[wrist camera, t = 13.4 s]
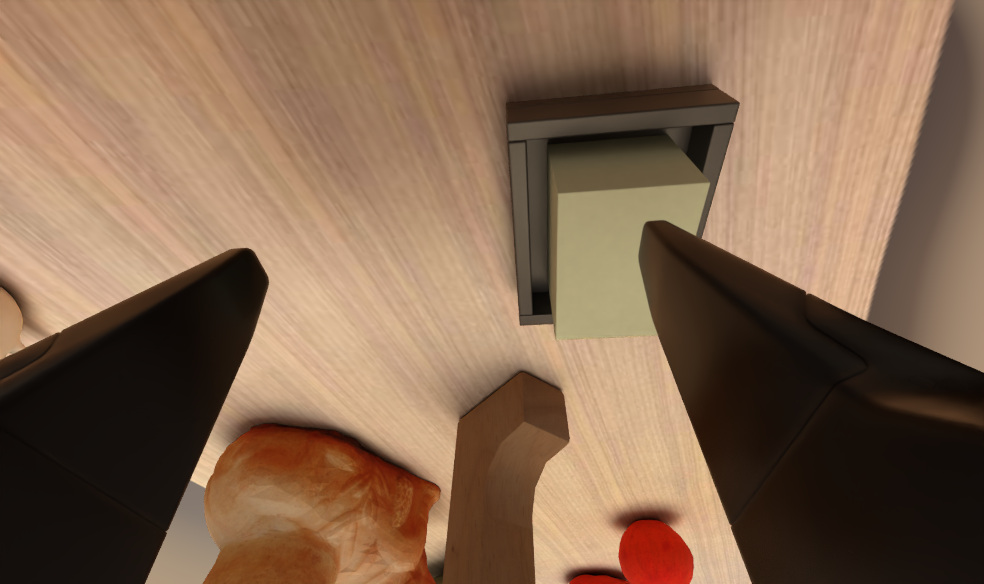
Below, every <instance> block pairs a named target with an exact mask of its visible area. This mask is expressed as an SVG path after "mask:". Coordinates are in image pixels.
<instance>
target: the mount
mask: <svg viewBox="0 0 984 584" xmlns="http://www.w3.org/2000/svg"><path fill="white" fill-rule="evenodd" d="M739 104H740V103H739V102H738V101H737V100H735V99H734V98H732V97H730V96H729V95H727V94H726V93H724V92H723V91H721V90H719V88H717V87H716V86H714V85H713V84H709V85H698V86H687V87H676V88H665V89H654V90H644V91H633V92H622V93H611V94H600V95H589V96H578V97H567V98H556V99H545V100H534V101H523V102H513V103H506V128H507V140H508V157H509V172H510V187H511V202H512V217H513V231H514V246H515V261H516V276H517V291H518V306H519V321H520V325H542V324H553V317H552V309H551V301H550V294H549V286H548V279H547V145H548V144H560V143H572V142H584V141H596V140H608V139H620V138H633V137H645V136H657V135H669V136H670V138H671V139H672V140H673V141H674V142H675V143H676V144H677V145H678V147H679V148H680V149H681V150H682V151H683V152H684V153H685V154H686V156H687V157H688V158H689V159H690V160H691V161H692V162H693V164H694V165H695V166H696V167H697V168H698V169H699V170H700V171H701V173H702V174H703V175H704V176H705V177H706V178H707V179H708V180H709V182H710V186H709V189H708V193H707V197H706V200H705V204H704V208H703V211H702V215H701V219H700V222H699V226H698V230H697V233H696V236H697V237H699V238H702V235H703V231H704V228H705V224H706V221H707V217H708V214H709V210H710V207H711V203H712V200H713V196H714V193H715V189H716V186H717V182H718V179H719V175H720V172H721V168H722V165H723V161H724V158H725V154H726V151H727V147H728V144H729V140H730V137H731V133H732V130H733V126H734V122H735V119H736V115H737V112H738V108H739Z"/></svg>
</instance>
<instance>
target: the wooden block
mask: <svg viewBox="0 0 984 584" xmlns="http://www.w3.org/2000/svg"><path fill="white" fill-rule="evenodd" d="M569 439H570V437H569V430H568V422H567V415H566V407H565V400H564V395H563V393H562V392H561V391H560V390H558V389H556V388H554V387H552V386H550V385H548V384H546V383H544V382H542V381H540V380H538V379H536V378H535V377H533V376H531V375H529V374H527V373H524V372H522V373H519V374H518V375H517V376H515V377H514V378H513V379H511V380H510V381H509V382H508V383H506V384H505V385H504V386H503V387H501V388H500V389H499V390H497V391H496V392H495V393H494V394H492V395H491V396H490V397H489V398H487V399H486V400H485V401H483V402H482V403H481V404H480V405H478V406H477V407H476V408H474V409H473V410H472V411H471V412H469V413H468V414H467V415H466V416H464V417H463V418H462V419H460V421H459V423H458V429H457V439H456V450H455V460H454V470H453V480H452V490H451V501H450V511H449V521H448V531H447V541H446V551H445V562H444V572H443V582H442V584H535V567H534V546H533V526H532V512H533V503H534V493H535V487H536V484H537V482H538V480H539V478H540V475H541V473H542V471H543V468H544V466H545V464H546V462H547V461H548V460H550V459H551V458H552V457H553V456H554V455H556V454H557V453H558V452H559V451H560V450H562V449H563V448H564V447H565V446H566V445H567V444H568V443H569Z"/></svg>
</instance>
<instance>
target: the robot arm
mask: <svg viewBox="0 0 984 584" xmlns="http://www.w3.org/2000/svg"><path fill="white" fill-rule="evenodd" d="M638 261H639V266H640V271H641V275H642V279H643V284H644V288H645V292H646V296H647V301H648V305H649V309H650V313H651V317H652V320H653V323H654V326H655V329H656V332H657V334H658V337H659V339H660V342H661V345H662V347H663V350H664V353H665V355H666V358H667V360H668V363H669V366H670V368H671V371H672V374H673V376H674V379H675V382H676V384H677V387H678V389H679V392H680V395H681V397H682V400H683V403H684V405H685V408H686V410H687V413H688V416H689V418H690V421H691V424H692V426H693V429H694V432H695V434H696V437H697V439H698V442H699V445H700V447H701V450H702V453H703V455H704V458H705V460H706V463H707V466H708V468H709V471H710V474H711V476H712V479H713V481H714V484H715V487H716V489H717V492H718V495H719V497H720V500H721V503H722V505H723V508H724V510H725V513H726V516H727V518H728V521H729V523H730V525H732V526H731V530H732V532H733V535H734V537H735V540H736V543H737V545H738V548H739V551H740V553H741V556H742V559H743V561H744V564H745V566H746V569H747V572H748V574H749V577H750V580H751V582H752V584H984V373H983V372H981V371H978V370H976V369H974V368H972V367H969V366H967V365H964V364H962V363H960V362H958V361H956V360H953V359H951V358H949V357H946V356H944V355H942V354H940V353H937V352H935V351H933V350H930V349H928V348H926V347H923V346H921V345H919V344H917V343H914V342H912V341H910V340H907V339H905V338H903V337H901V336H898V335H896V334H894V333H891V332H889V331H887V330H885V329H882V328H880V327H878V326H876V325H874V324H871V323H869V322H867V321H865V320H863V319H860V318H858V317H856V316H854V315H852V314H850V313H848V312H846V311H844V310H842V309H840V308H838V307H836V306H834V305H832V304H830V303H828V302H826V301H824V300H822V299H820V298H818V297H816V296H814V295H812V294H807V295H806V292H805V291H804V290H802V289H800V288H798V287H796V286H794V285H792V284H790V283H788V282H786V281H784V280H782V279H780V278H778V277H776V276H774V275H772V274H770V273H768V272H766V271H764V270H762V269H761V268H759V267H757V266H755V265H753V264H751V263H749V262H747V261H745V260H743V259H741V258H739V257H737V256H735V255H733V254H731V253H729V252H727V251H725V250H723V249H721V248H719V247H717V246H715V245H713V244H711V243H709V242H707V241H705V240H703V239H701V238H699V237H697V236H695V235H693V234H691V233H689V232H688V231H686V230H684V229H682V228H680V227H678V226H676V225H674V224H672V223H670V222H668V221H666V220H655V221H647V222H646V223H645V224H644V226H643V230H642V235H641V241H640V247H639V253H638ZM268 285H269V279H268V276H267V274H266V272H265V270H264V268H263V267H262V265H261V263H260V261H259V260H258V258H257V256H256V254H255V253H254V252H253V251H252V250H251V249H249V248H237V249H230V250H228V251H226V252H224V253H222V254H220V255H218V256H215V257H213V258H211V259H209V260H207V261H205V262H203V263H201V264H199V265H197V266H195V267H193V268H191V269H189V270H186V271H184V272H182V273H180V274H178V275H176V276H174V277H172V278H170V279H168V280H166V281H164V282H162V283H160V284H157V285H155V286H153V287H151V288H149V289H147V290H145V291H143V292H141V293H139V294H137V295H135V296H133V297H130V298H128V299H126V300H124V301H122V302H120V303H118V304H116V305H114V306H112V307H110V308H108V309H106V310H104V311H101V312H99V313H97V314H95V315H93V316H91V317H89V318H87V319H85V320H83V321H81V322H79V323H77V324H74V325H72V326H70V327H68V328H66V329H64V330H62V332H61V333H56V334H54V335H52V336H49V337H47V338H45V339H43V340H41V341H39V342H37V343H35V344H33V345H31V346H29V347H26V348H24V349H22V350H20V351H18V352H16V353H14V354H12V355H9V356H7V357H5V358H3V359H1V360H0V584H145V582H146V580H147V578H148V575H149V573H150V571H151V568H152V566H153V564H154V562H155V559H156V557H157V555H158V552H159V550H160V548H161V546H162V543H163V541H164V539H165V537H166V534H167V533H166V532H165V531H167V530H168V529H169V526H170V524H171V522H172V520H173V517H174V515H175V513H176V510H177V508H178V506H179V504H180V501H181V499H182V497H183V495H184V492H185V490H186V488H187V486H188V483H189V481H190V479H191V476H192V474H193V472H194V470H195V467H196V465H197V463H198V461H199V458H200V456H201V454H202V451H203V449H204V447H205V445H206V442H207V440H208V438H209V436H210V433H211V431H212V429H213V426H214V424H215V422H216V420H217V417H218V415H219V413H220V411H221V408H222V406H223V404H224V401H225V399H226V397H227V395H228V392H229V390H230V388H231V385H232V383H233V381H234V379H235V376H236V374H237V372H238V370H239V367H240V365H241V363H242V360H243V358H244V356H245V354H246V351H247V349H248V347H249V344H250V342H251V339H252V337H253V334H254V331H255V328H256V325H257V321H258V318H259V315H260V312H261V308H262V305H263V302H264V299H265V295H266V292H267V289H268Z"/></svg>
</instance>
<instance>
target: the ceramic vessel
mask: <svg viewBox="0 0 984 584" xmlns="http://www.w3.org/2000/svg"><path fill="white" fill-rule="evenodd" d="M440 492H441V490H440V488H439V487H438V486H437V485H436V484H433V483H431V482H428V481H426V480H423V479H421V478H419V477H417V476H415V475H413V474H411V473H409V472H408V471H406V470H404V469H403V468H401V467H399V466H396V465H395V464H393V463H391V462H389V461H387V460H385V459H383V458H382V457H380V456H378V455H377V454H375V453H374V452H372V451H370V450H369V449H367V448H365V447H364V446H362V445H361V444H360V443H359V442H358V441H357V440H356V439H354V438H351V437H348V436H345V435H343V434H341V433H339V432H337V431H333V430H323V429H315V428H305V427H294V426H286V425H279V424H274V423H272V424H262V425H258V426H253V427H251V429H250V430H249V431H248V432H247V433H245V434H243V435H241V436H240V437H239V438H238V439H237V440H236V441H235V442H233V443H232V444H230V445H229V446H228V447H227V448H226V450H225V452H224V453H223V454H222V455H221V456H220V458H219V460H218V462H217V464H216V466H215V469H214V473H213V475H212V476H211V477H210V479H209V481H208V483H207V486H206V490H205V495H204V505H205V519H206V523H207V527H208V531H209V533H210V535H211V537H212V539H213V540H214V542H215V543H216V545H217V546H218V547H219V549H220V550H221V551H220V553H219V555H218V558H217V560H216V563H215V564H214V566H213V568H212V569H211V571H210V572H209V574H208V576H207V577H206V579H205V581H204V582H203V584H436V582H435V581H434V579H433V577H432V575H431V574H430V572H429V570H428V567H427V556H426V552H425V548H424V546H425V543H426V535H427V523H428V514H429V510H430V509H431V507H432V506H433V504H434V503H436V502H437V501H438V500H439V498H440Z"/></svg>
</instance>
